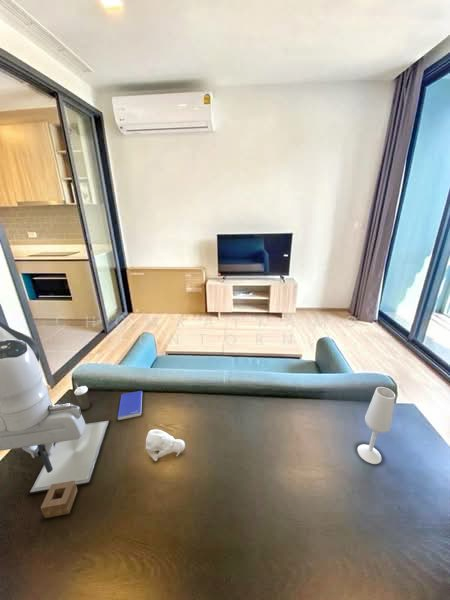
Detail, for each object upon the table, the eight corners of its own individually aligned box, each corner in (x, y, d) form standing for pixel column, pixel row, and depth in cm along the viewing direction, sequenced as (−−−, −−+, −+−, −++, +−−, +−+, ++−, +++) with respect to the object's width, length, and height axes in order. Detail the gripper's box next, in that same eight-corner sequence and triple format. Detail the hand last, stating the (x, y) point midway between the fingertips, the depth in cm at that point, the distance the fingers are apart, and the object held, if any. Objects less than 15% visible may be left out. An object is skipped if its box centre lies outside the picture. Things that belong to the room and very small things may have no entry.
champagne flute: (385, 455, 78) (403, 393, 70) (376, 468, 74) (394, 405, 66) (363, 440, 83) (377, 381, 75) (353, 452, 79) (367, 391, 71)
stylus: (45, 473, 61) (29, 430, 56) (48, 468, 62) (32, 425, 57) (51, 472, 61) (35, 429, 56) (53, 467, 62) (38, 425, 58)
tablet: (30, 494, 68) (29, 491, 68) (64, 428, 89) (63, 426, 88) (89, 484, 71) (88, 481, 70) (109, 422, 91) (108, 420, 91)
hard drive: (140, 412, 93) (141, 390, 105) (117, 416, 91) (121, 394, 103) (141, 415, 94) (142, 393, 105) (118, 420, 92) (121, 397, 103)
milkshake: (87, 400, 102) (82, 380, 98) (94, 406, 99) (88, 385, 95) (75, 407, 98) (69, 386, 95) (82, 413, 95) (76, 392, 92)
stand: (44, 518, 63) (40, 508, 62) (55, 494, 68) (51, 484, 67) (69, 513, 64) (65, 503, 63) (77, 490, 69) (74, 480, 68)
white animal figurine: (148, 424, 79) (186, 425, 80) (149, 443, 82) (185, 444, 83) (143, 441, 73) (184, 442, 74) (144, 462, 76) (183, 463, 77)
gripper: (82, 393, 60) (94, 436, 64) (-15, 404, 56) (5, 449, 61) (72, 413, 54) (85, 459, 59) (-37, 427, 50) (-14, 474, 55)
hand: (43, 454), depth 60 cm, fingers closed on stylus, 1 cm apart
